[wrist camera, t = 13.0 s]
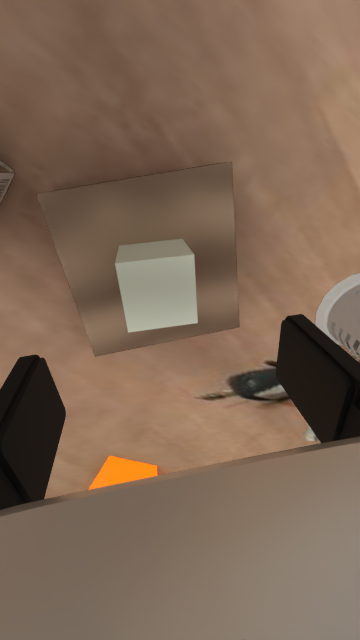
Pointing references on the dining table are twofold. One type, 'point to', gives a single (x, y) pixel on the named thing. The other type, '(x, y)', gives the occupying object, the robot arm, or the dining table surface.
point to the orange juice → (122, 472)
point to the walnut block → (141, 227)
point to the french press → (342, 314)
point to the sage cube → (157, 284)
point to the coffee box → (5, 179)
